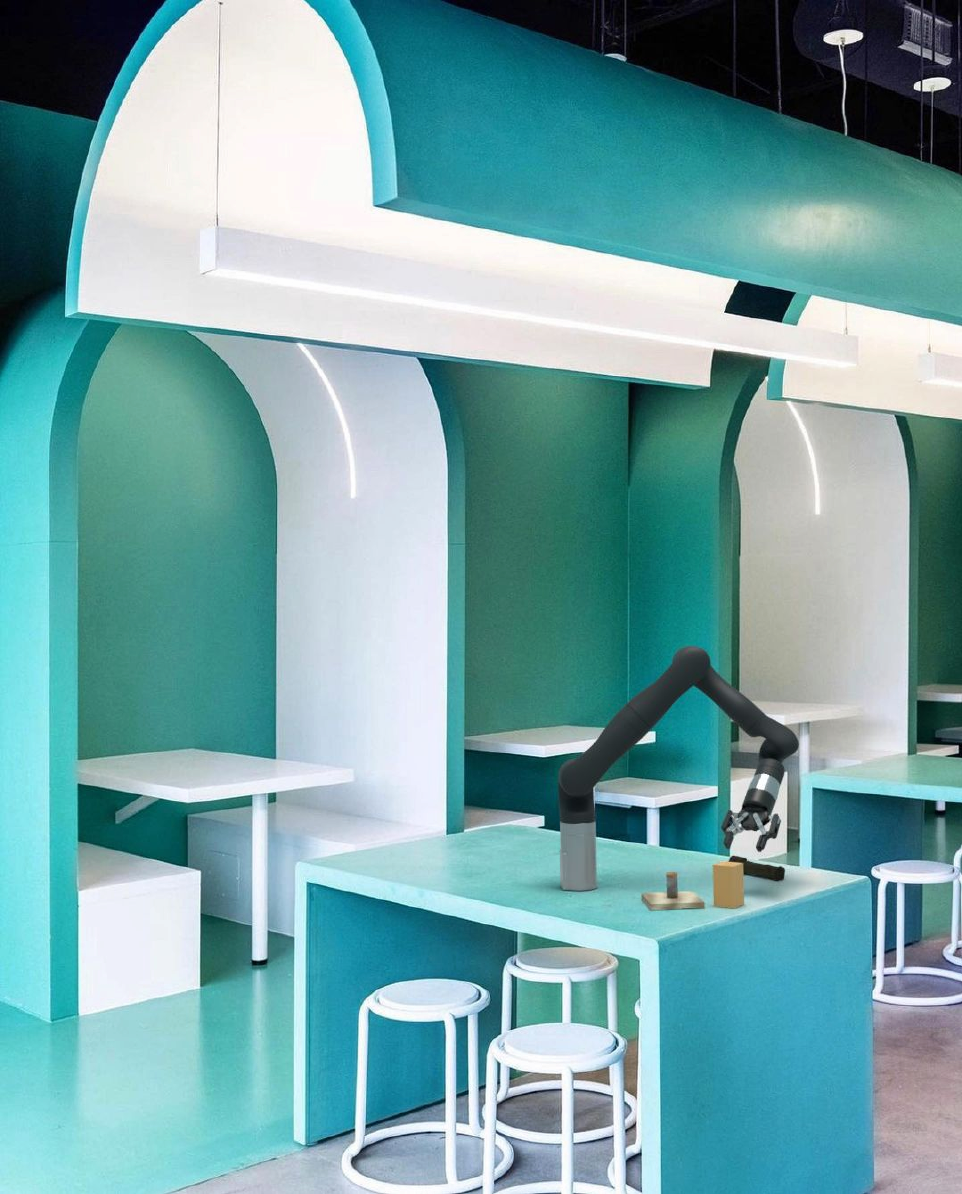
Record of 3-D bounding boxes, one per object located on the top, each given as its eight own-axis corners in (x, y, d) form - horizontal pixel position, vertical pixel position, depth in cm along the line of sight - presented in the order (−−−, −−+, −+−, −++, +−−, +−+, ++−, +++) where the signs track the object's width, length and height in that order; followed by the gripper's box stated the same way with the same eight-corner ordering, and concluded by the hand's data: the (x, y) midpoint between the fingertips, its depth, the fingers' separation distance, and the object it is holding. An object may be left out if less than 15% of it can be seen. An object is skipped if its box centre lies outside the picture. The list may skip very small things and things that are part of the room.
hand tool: (786, 880, 364) (786, 863, 364) (775, 882, 362) (775, 864, 362) (736, 870, 380) (735, 853, 380) (725, 872, 377) (724, 855, 377)
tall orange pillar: (713, 906, 334) (712, 864, 334) (724, 902, 338) (722, 861, 338) (734, 908, 331) (733, 866, 331) (744, 904, 335) (743, 863, 335)
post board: (650, 910, 331) (650, 879, 331) (641, 899, 344) (640, 869, 344) (704, 908, 332) (703, 877, 332) (693, 897, 345) (692, 867, 345)
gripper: (730, 785, 353) (711, 837, 343) (782, 788, 344) (764, 841, 335) (740, 803, 357) (721, 855, 347) (792, 807, 348) (774, 860, 339)
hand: (742, 848), depth 341 cm, fingers open, 8 cm apart
